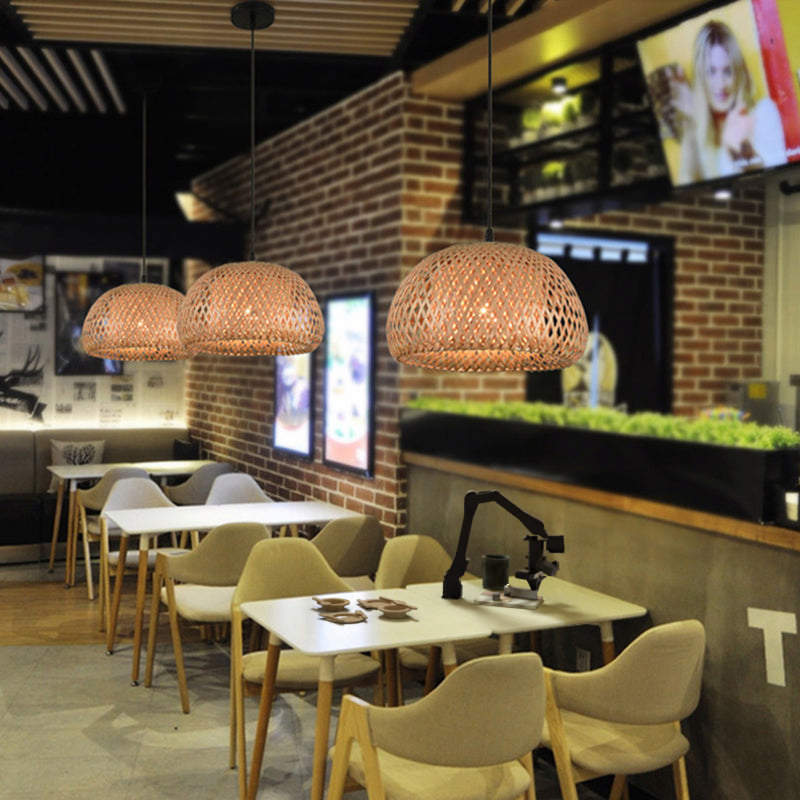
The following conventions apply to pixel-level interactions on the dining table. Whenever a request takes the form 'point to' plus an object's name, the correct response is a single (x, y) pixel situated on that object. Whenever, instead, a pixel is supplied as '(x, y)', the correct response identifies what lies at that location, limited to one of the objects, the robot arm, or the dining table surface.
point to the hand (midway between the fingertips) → (535, 595)
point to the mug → (495, 571)
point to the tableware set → (382, 604)
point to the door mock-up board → (507, 600)
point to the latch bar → (520, 592)
